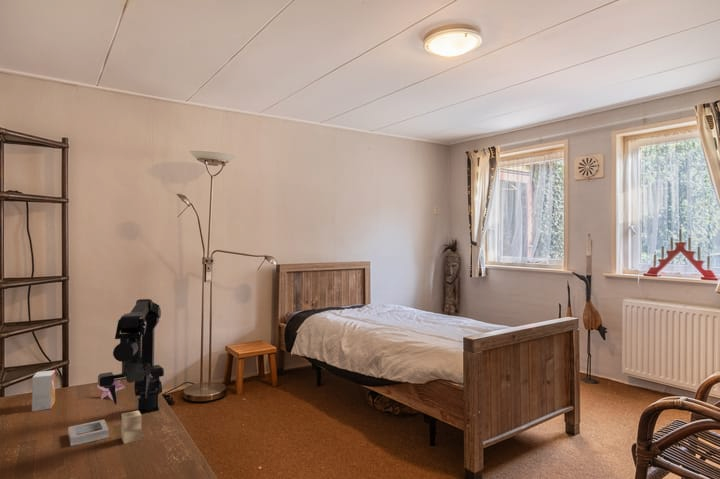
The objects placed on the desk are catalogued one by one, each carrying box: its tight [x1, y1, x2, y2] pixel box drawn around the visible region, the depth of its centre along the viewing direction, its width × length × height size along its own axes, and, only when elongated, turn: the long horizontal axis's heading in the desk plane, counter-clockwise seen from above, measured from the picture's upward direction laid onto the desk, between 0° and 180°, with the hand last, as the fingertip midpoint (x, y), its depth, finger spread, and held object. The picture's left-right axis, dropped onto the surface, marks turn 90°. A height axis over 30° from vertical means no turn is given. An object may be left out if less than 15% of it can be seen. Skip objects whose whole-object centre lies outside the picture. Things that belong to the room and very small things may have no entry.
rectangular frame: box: [67, 419, 110, 447], centre depth 146 cm, size 10×10×2 cm
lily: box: [96, 380, 126, 401], centre depth 184 cm, size 11×11×9 cm
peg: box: [121, 410, 142, 445], centre depth 144 cm, size 5×5×8 cm
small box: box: [31, 369, 56, 412], centre depth 172 cm, size 8×6×13 cm
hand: (131, 401), depth 144 cm, fingers open, 9 cm apart
